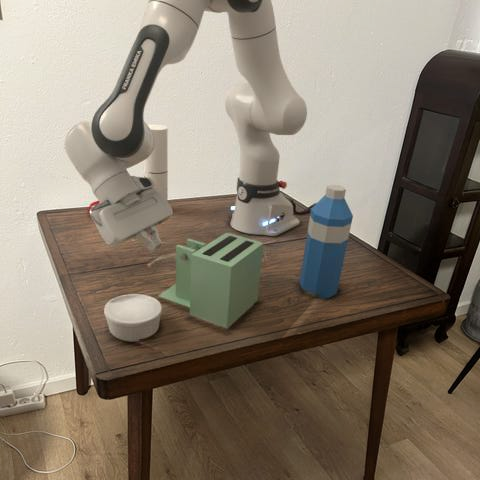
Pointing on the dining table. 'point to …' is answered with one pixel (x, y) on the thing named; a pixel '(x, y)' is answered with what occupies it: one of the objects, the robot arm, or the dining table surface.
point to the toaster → (225, 279)
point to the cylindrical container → (158, 160)
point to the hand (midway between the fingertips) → (157, 247)
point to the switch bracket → (182, 275)
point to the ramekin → (133, 316)
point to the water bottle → (326, 243)
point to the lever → (167, 258)
